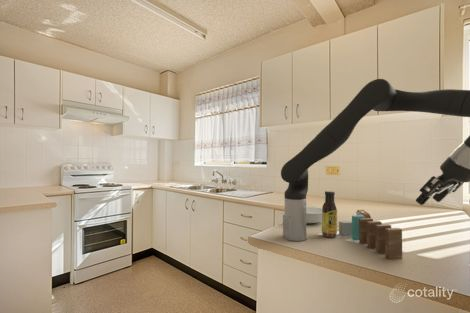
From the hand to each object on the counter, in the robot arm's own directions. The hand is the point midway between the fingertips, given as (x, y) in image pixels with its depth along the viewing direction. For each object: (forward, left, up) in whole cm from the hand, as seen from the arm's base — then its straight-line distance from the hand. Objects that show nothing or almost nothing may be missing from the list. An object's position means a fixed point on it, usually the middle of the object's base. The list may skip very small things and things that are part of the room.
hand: (427, 201), depth 73 cm
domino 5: (-5, +7, -21) cm, 22 cm away
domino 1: (-4, +26, -21) cm, 33 cm away
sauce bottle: (-13, +32, -21) cm, 41 cm away
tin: (+11, +39, -21) cm, 46 cm away
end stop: (-3, +31, -21) cm, 38 cm away
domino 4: (-5, +12, -21) cm, 24 cm away
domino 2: (-4, +21, -21) cm, 30 cm away
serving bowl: (-11, +57, -21) cm, 61 cm away
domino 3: (-5, +16, -21) cm, 27 cm away
